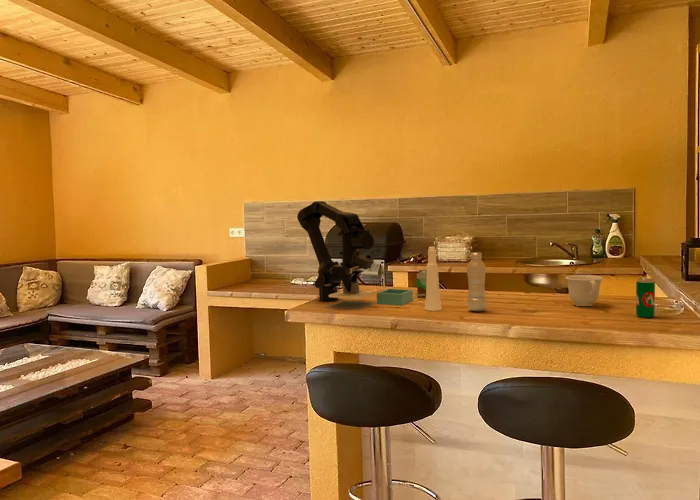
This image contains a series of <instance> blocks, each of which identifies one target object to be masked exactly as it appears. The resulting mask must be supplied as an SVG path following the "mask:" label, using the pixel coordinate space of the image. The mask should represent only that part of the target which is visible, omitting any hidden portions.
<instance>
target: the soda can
mask: <svg viewBox="0 0 700 500" xmlns="http://www.w3.org/2000/svg"><path fill="white" fill-rule="evenodd" d="M655 303H656V282H655V280H654V278H653V277H637V280H636V286H635V315H636V316H637V318H640V317H644V318H643V319H653V318H654V317H655V315H656V314H655V312H656V310H655V309H656V306H655V305H656V304H655Z"/></svg>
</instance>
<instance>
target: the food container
mask: <svg viewBox="0 0 700 500" xmlns="http://www.w3.org/2000/svg"><path fill="white" fill-rule="evenodd" d="M426 284H427V269H418V273H416V293H417V294H416V295H417V296H416V297H417V299H423V298H424V299H426Z"/></svg>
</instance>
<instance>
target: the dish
mask: <svg viewBox="0 0 700 500" xmlns="http://www.w3.org/2000/svg"><path fill="white" fill-rule="evenodd" d="M413 291H414V290H413V289H404V288H403V289H401V288H400V289H399V288H386V289H384V290H381V291H378V292H376V304H377V305H389V306H390V305H391V306H404V305H407V304H409V303H411V302H413V301H414V298H413V297H414V296H413V295H414V292H413Z"/></svg>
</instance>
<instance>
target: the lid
mask: <svg viewBox="0 0 700 500" xmlns="http://www.w3.org/2000/svg"><path fill="white" fill-rule="evenodd" d="M373 294H374V291H373V290H371V291H370V290H360V282H359V281H357V282H351V290H350V292H348V291H347V290H346V288H345V286H344V284H343V283H342V290H341V291H338V292H337V293H333V294H330V295H329V297H334V298H338V299H349V300H351V299H353V300H359V299H362V298H365V297H367V296H370V295H373Z"/></svg>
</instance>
